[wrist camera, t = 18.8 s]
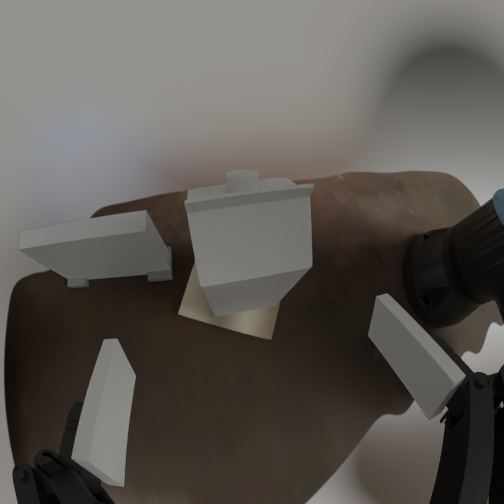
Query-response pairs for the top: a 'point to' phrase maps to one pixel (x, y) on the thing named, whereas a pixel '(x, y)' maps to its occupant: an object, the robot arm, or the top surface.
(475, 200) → the top surface
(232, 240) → the milk carton
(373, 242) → the top surface
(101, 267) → the grey screen
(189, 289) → the birch board
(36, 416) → the top surface
